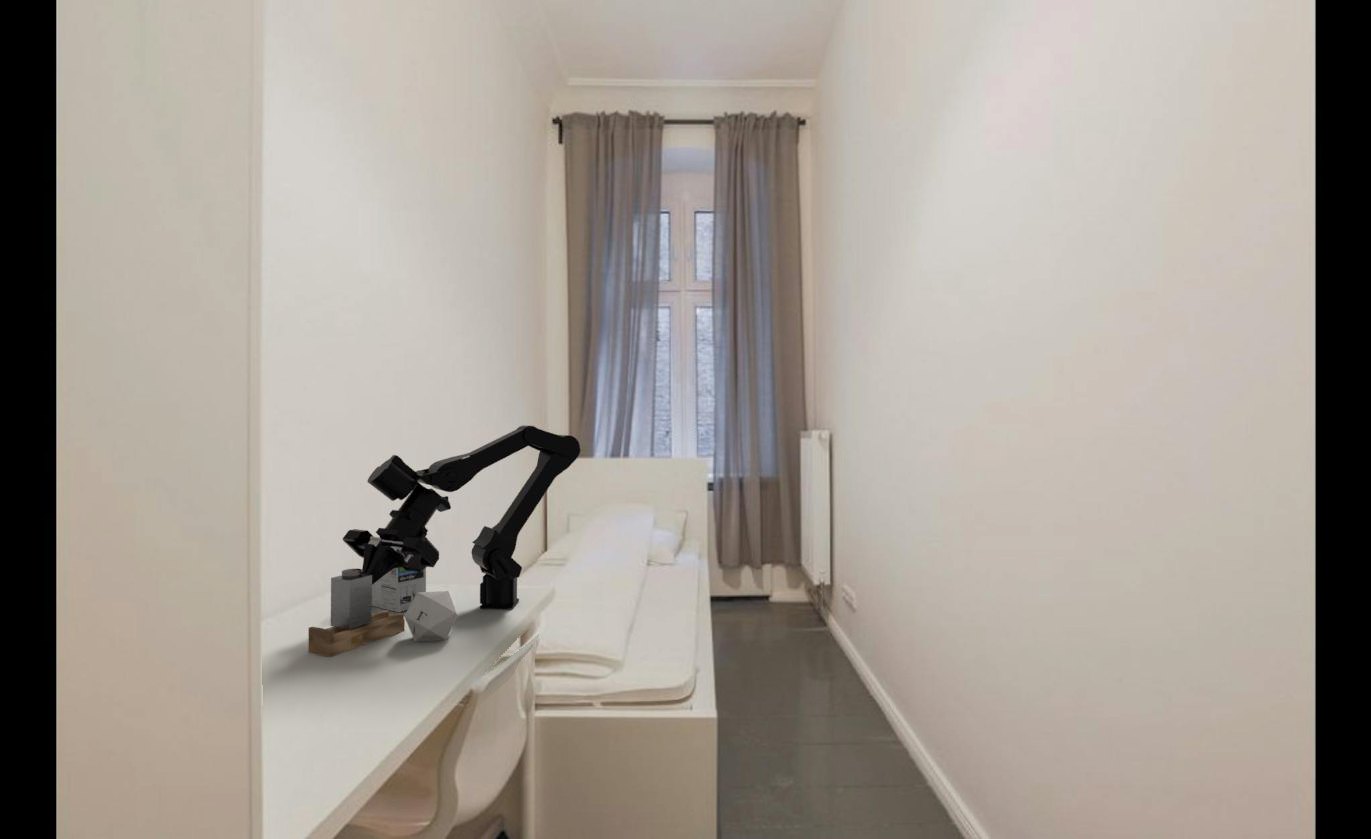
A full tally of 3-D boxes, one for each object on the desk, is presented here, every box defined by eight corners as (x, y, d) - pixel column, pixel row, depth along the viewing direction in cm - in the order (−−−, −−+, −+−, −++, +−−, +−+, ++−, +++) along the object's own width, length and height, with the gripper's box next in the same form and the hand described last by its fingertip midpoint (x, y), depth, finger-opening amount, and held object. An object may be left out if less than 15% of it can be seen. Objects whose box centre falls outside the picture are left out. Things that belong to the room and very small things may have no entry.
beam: (383, 626, 122) (383, 604, 122) (404, 630, 120) (405, 608, 120) (307, 652, 109) (308, 627, 109) (330, 657, 107) (330, 632, 107)
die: (397, 640, 117) (391, 605, 111) (432, 605, 124) (428, 571, 118) (435, 661, 115) (431, 627, 109) (468, 625, 122) (466, 591, 116)
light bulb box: (427, 605, 137) (427, 552, 137) (397, 613, 131) (398, 558, 131) (394, 597, 142) (395, 546, 142) (365, 605, 137) (365, 552, 137)
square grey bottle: (353, 623, 116) (353, 566, 116) (371, 627, 114) (372, 569, 114) (330, 631, 112) (331, 571, 112) (349, 634, 110) (349, 574, 110)
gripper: (473, 545, 127) (428, 619, 117) (400, 537, 135) (352, 606, 125) (442, 509, 120) (391, 584, 110) (367, 502, 127) (314, 572, 117)
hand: (362, 588), depth 116 cm, fingers closed
